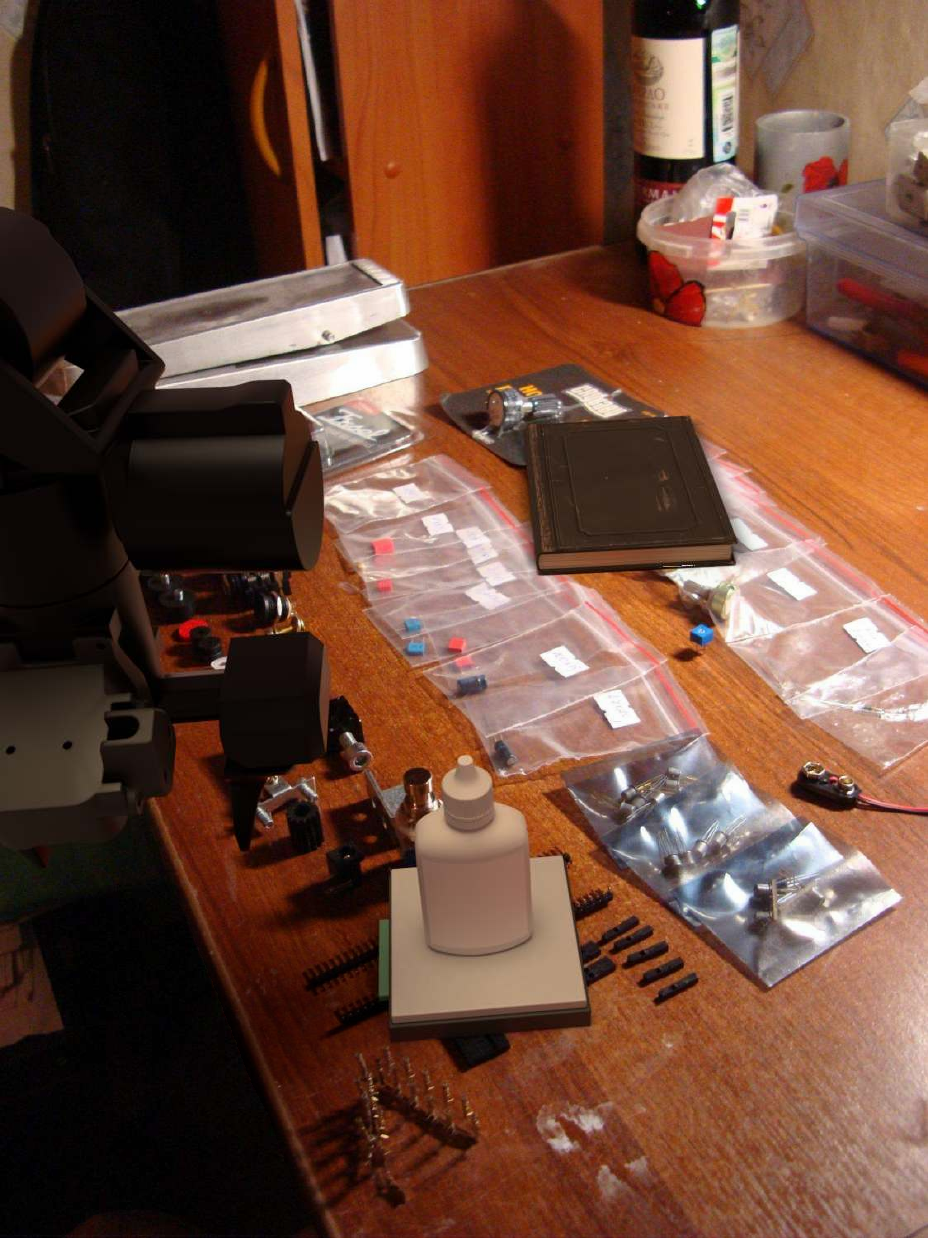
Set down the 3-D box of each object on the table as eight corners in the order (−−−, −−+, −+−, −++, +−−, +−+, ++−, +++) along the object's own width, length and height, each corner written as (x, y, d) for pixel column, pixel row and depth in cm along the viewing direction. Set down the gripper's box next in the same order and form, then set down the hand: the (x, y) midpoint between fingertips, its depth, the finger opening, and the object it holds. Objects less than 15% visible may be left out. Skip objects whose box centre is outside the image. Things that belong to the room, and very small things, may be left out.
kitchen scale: (381, 1058, 58) (375, 1021, 56) (382, 903, 66) (376, 867, 64) (590, 1040, 58) (591, 1003, 56) (566, 888, 66) (565, 852, 64)
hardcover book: (688, 436, 111) (690, 414, 110) (735, 564, 92) (737, 540, 91) (523, 446, 112) (522, 424, 110) (536, 575, 93) (536, 551, 91)
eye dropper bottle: (511, 979, 57) (501, 807, 51) (412, 945, 60) (389, 775, 53) (544, 915, 61) (539, 745, 54) (448, 885, 63) (431, 717, 56)
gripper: (-298, 724, 37) (-124, 1023, 46) (284, 676, 37) (344, 983, 46) (-162, 543, 46) (-39, 821, 55) (305, 505, 46) (351, 789, 55)
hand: (145, 853), depth 52 cm, fingers open, 9 cm apart
